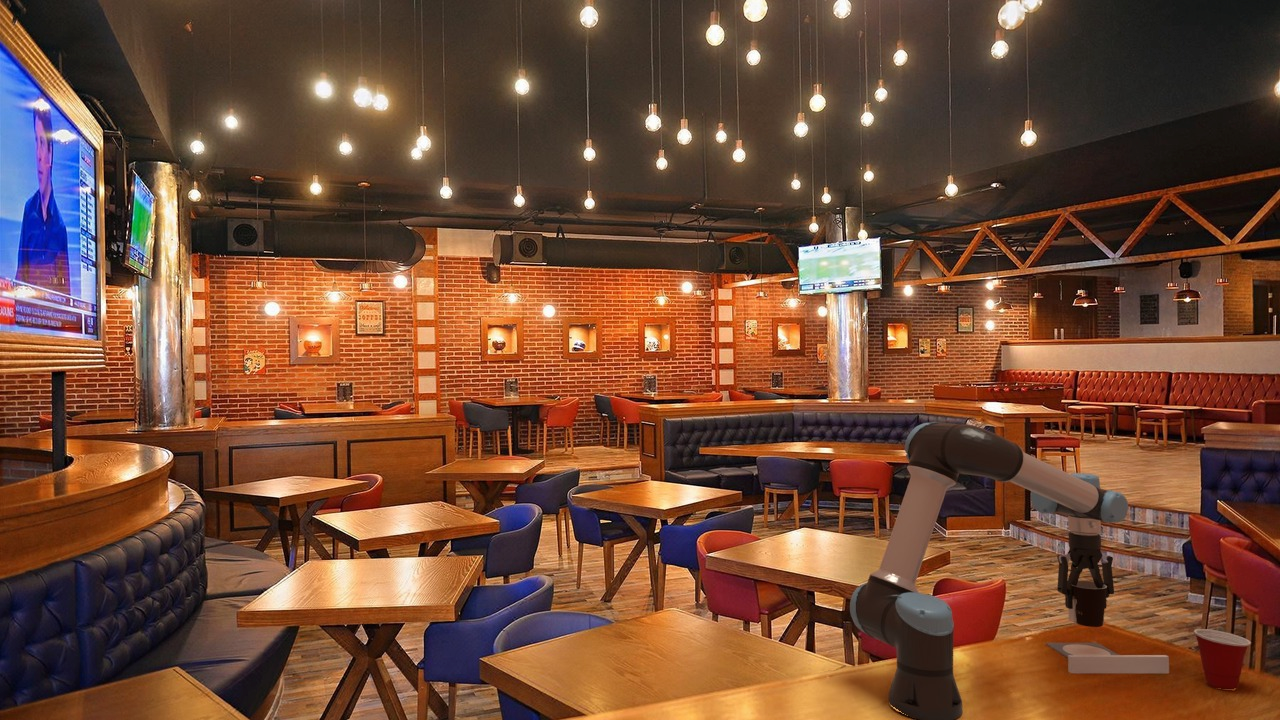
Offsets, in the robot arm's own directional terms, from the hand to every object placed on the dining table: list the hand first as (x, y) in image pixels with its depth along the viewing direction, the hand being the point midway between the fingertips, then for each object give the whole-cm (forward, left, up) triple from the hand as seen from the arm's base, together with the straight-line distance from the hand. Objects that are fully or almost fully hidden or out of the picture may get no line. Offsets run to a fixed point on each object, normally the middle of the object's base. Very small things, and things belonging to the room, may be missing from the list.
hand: (1086, 620), depth 209 cm
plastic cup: (+19, -23, -9) cm, 31 cm away
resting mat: (0, 0, -8) cm, 8 cm away
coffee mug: (+1, 0, 0) cm, 1 cm away
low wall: (0, -14, -8) cm, 16 cm away
